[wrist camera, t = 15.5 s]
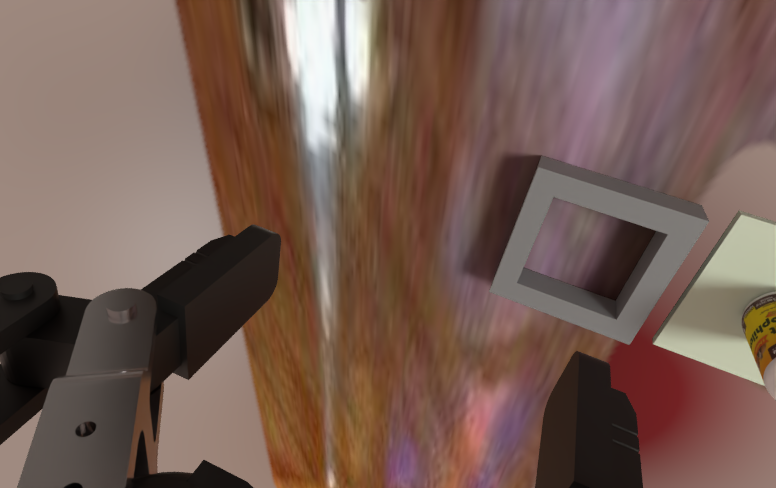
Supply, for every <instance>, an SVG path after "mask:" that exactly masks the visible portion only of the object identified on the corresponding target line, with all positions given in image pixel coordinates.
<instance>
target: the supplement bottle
mask: <svg viewBox="0 0 776 488" xmlns="http://www.w3.org/2000/svg"><path fill="white" fill-rule="evenodd" d="M741 324H742V329H743V332H744V334H745V336H746V339H747V342H748V344H749V346H750V349H751V352H752V354H753V357H754V359H755V362H756V364H757V367H758V369H759V372H760V374H761V377H762V379H763V382H764V384H765V387H766V389H767V391H768V392H769V394H770V395H771V396H772V397H773V398H774V399H775V400H776V291H775V292H770V293H767V294H764V295H761V296H759V297H757V298H756V299H754V300H753V301H751V302H750V303H749V304H748V305H747V307H746V308H745V309H744V311H743V314H742V318H741Z"/></svg>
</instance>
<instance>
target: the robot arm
mask: <svg viewBox="0 0 776 488" xmlns="http://www.w3.org/2000/svg"><path fill="white" fill-rule="evenodd" d="M280 246H281V238H280V235H279V234H277V233H275V232H272V231H270V230H267V229H264V228H262V227H259V226H257V225H251V226H249V227H248V228H246V229H245V230H243V231H242V232H241V233H239V234H238V235H237V236H235V237H234V236H232V235H227V236H224V237H221V238H218V239H215V240H211V241H210V242H208V243H207V244H205V245H204V246H203V247H201V248H200V249H198V250H197V252H196V253H193V254H191V255H190V256H188V257H187V258H185V261H181V262H180V263H178V264H177V265H176V266H174V267H173V268H171V269H170V270H168V271H167V272H165V273H164V274H163V275H161V276H160V277H158V278H157V279H155V280H154V281H153V282H151V283H150V284H148V285H147V286H146V287H144V288H143V289H141V290H139V289H132V288H124V289H116V290H112V291H108V292H106V293H103V294H101V295H99V296H97V297H96V298H94V299H93V300H89V299H82V298H75V297H68V296H62V295H58V291H57V286H56V283H55V281H54V280H53V279H52V278H51V277H49V276H47V275H45V274H41V273H36V272H22V273H15V274H10V275H6V276H3V277H1V278H0V362H1V364H0V445H1V444H2V443H3V442H4V441H5V440H7V439H8V438H9V437H10V436H11V435H12V434H13V433H15V432H16V431H17V430H18V429H19V428H21V426H23V425H24V424H25V423H26V422H27V421H29V420H30V419H31V418H32V417H33V416H34V415H36V414H37V413H38V412H39V411H40V410H41V409H42V412H41V415H40V418H39V421H38V424H37V427H36V431H35V434H34V437H33V440H32V443H31V446H30V449H29V452H28V455H27V458H26V461H25V464H24V467H23V471H22V474H21V477H20V480H19V483H18V486H17V488H253V487H252V486H251V485H250V484H249V483H248V482H246V481H244V480H243V479H241V478H238V477H237V476H234V475H233V474H231V473H229V472H227V471H225V470H223V469H221V468H219V467H217V466H215V465H213V464H211V463H209V462H207V461H205V460H203V461H202V463H201V464H200V465H199V466H198V468H197V469H196V470H195V471H194V473H184V472H162V473H157V456H158V443H159V433H160V422H161V412H162V402H163V392H164V382H163V381H164V380H165V379H166V378H168V376H170V375H171V374H172V373H175V374H177V375H179V376H181V377H183V378H186V379H188V380H189V379H190V378H191V377H192V376H193V375H194V374H195V373H196V372H197V371H198V370H199V369H200V368H201V367H202V366H203V365H204V364H205V363H206V362H207V361H208V360H209V359H210V358H211V357H212V356H213V355H214V354H215V353H216V352H217V351H218V350H219V349H220V348H221V347H222V346H223V345H224V344H225V343H226V342H227V341H228V340H229V339H230V338H231V337H232V336H233V335H234V334H235V332H237V331H238V330H239V329H240V328H241V327H242V326H243V325H244V324H245V323H246V322H247V321H248V320H249V319H250V318H251V317H252V316H253V315H254V314H255V313H256V312H257V311H258V310H259V309H260V308H261V307H262V306H263V305H264V304H265V303H266V302H267V301H268V299H269V298H270V297H271V295H272V294H273V292H274V290H275V287H276V284H277V280H278V270H279V258H280ZM637 435H638V428H637V417H636V413H635V411H634V409H633V407H632V405H631V403H630V401H629V399H628V397H627V396H626V394H625V393H623V392H621V391H618V390H616V389H613V388H611V377H610V365H609V363H607V362H604V361H602V360H599V359H596V358H594V357H591V356H589V355H586V354H584V353H581V352H578V351H576V352H575V353H574V354H573V356H572V357H571V359H570V361H569V363H568V364H567V366H566V368H565V370H564V371H563V373H562V375H561V377H560V378H559V380H558V382H557V384H556V385H555V387H554V389H553V391H552V393H551V395H550V397H549V399H548V402H547V405H546V408H545V412H544V417H543V425H542V434H541V443H540V451H539V460H538V468H537V477H536V485H535V488H643V483H642V473H641V462H640V454H638V452H639V439H638V437H637Z"/></svg>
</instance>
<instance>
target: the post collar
mask: <svg viewBox="0 0 776 488" xmlns="http://www.w3.org/2000/svg"><path fill="white" fill-rule="evenodd" d="M553 197H555V198H558V199H561V200H564V201H567V202H570V203H573V204H576V205H579V206H582V207H585V208H589V209H592V210H595V211H598V212H601V213H604V214H607V215H610V216H613V217H616V218H619V219H622V220H625V221H628V222H631V223H634V224H637V225H640V226H643V227H646V228H650V229H653V230H656V232H655V234H654V236H653V237H652V239H651V241H650V243H649V244H648V246H647V248H646V249H645V251H644V253H643V255H642V256H641V258H640V260H639V261H638V263H637V265H636V267H635V268H634V270H633V272H632V273H631V275H630V277H629V279H628V280H627V282H626V284H625V285H624V287H623V289H622V291H621V292H620V294H619V296H618V297H617V299H616V301H614V300H612V299H609V298H606V297H603V296H600V295H598V294H595V293H592V292H589V291H587V290H584V289H581V288H578V287H576V286H573V285H570V284H567V283H565V282H562V281H559V280H556V279H554V278H551V277H548V276H545V275H542V274H540V273H537V272H534V271H531V270H529V269H526V268H523V267H524V265H525V263H526V260H527V258H528V256H529V253H530V251H531V249H532V246H533V244H534V242H535V239H536V237H537V235H538V232H539V230H540V228H541V225H542V223H543V221H544V218H545V216H546V214H547V211H548V209H549V207H550V204H551V202H552V200H553ZM708 222H709V220H708V218H707V216H706V213H705V211H704V209H703V207H702V205H699V204H695V203H692V202H689V201H686V200H683V199H679V198H676V197H673V196H670V195H667V194H663V193H660V192H657V191H654V190H651V189H647V188H644V187H641V186H638V185H635V184H631V183H628V182H625V181H622V180H619V179H615V178H612V177H609V176H606V175H603V174H599V173H596V172H593V171H590V170H587V169H583V168H580V167H577V166H574V165H571V164H567V163H564V162H561V161H558V160H554V159H551V158H548V157H545V156H541V158H540V161H539V163H538V166H537V169H536V171H535V174H534V176H533V179H532V181H531V184H530V186H529V189H528V192H527V194H526V197H525V199H524V202H523V204H522V207H521V209H520V212H519V215H518V217H517V220H516V222H515V225H514V227H513V230H512V232H511V235H510V238H509V240H508V243H507V245H506V248H505V250H504V253H503V255H502V258H501V261H500V263H499V266H498V268H497V271H496V273H495V276H494V279H493V282H492V285H491V288H490V291H489V292H491V293H493V294H496V295H499V296H501V297H504V298H507V299H509V300H512V301H515V302H517V303H520V304H523V305H525V306H528V307H531V308H533V309H536V310H538V311H541V312H544V313H546V314H549V315H552V316H554V317H557V318H560V319H562V320H565V321H568V322H570V323H573V324H576V325H578V326H581V327H583V328H586V329H589V330H591V331H594V332H597V333H599V334H602V335H605V336H607V337H610V338H613V339H615V340H618V341H621V342H623V343H626V344H630V343H631V342H632V340H633V339H634V337H635V335H636V334H637V332H638V331H639V329H640V327H641V326H642V324H643V323H644V321H645V320H646V318H647V317H648V315H649V314H650V312H651V311H652V309H653V307H654V306H655V304H656V303H657V301H658V299H659V298H660V296H661V295H662V293H663V292H664V290H665V289H666V287H667V286H668V284H669V283H670V281H671V280H672V278H673V277H674V275H675V273H676V272H677V270H678V269H679V267H680V266H681V264H682V263H683V261H684V259H685V258H686V256H687V255H688V253H689V252H690V250H691V249H692V247H693V246H694V244H695V242H696V241H697V239H698V238H699V236H700V235H701V233H702V231H703V230H704V229H705V227H706V225H707V224H708Z"/></svg>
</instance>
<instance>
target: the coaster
mask: <svg viewBox="0 0 776 488" xmlns="http://www.w3.org/2000/svg"><path fill="white" fill-rule="evenodd" d="M775 291H776V222H774V221H771V220H768V219H765V218H762V217H758V216H755V215H752V214H749V213H745V212H742V211H738V213H737V214H736V216H735V217H734V218H733V220H732V221H731V223H730V225H729V226H728V228H727V229H726V231H725V232H724V233H723V235H722V236H721V238H720V239H719V241H718V242H717V244H716V245H715V247H714V248H713V250H712V251H711V253H710V254H709V256H708V257H707V259H706V260H705V261H704V263H703V264H702V266H701V267H700V269H699V270H698V272H697V273H696V275H695V276H694V278H693V279H692V281H691V282H690V284H689V285H688V287H687V288H686V290H685V291H684V293H683V294H682V296H681V297H680V298H679V300H678V301H677V303H676V304H675V306H674V308H673V309H672V310H671V312H670V313H669V315H668V316H667V318H666V319H665V321H664V322H663V324H662V325H661V327H660V328H659V330H658V331H657V333H656V334H655V336H654V337H653V339H652V340H653V344H655V345H657V346H660V347H662V348H665V349H668V350H670V351H673V352H676V353H678V354H681V355H684V356H686V357H689V358H692V359H695V360H697V361H700V362H702V363H705V364H708V365H710V366H713V367H716V368H718V369H721V370H724V371H726V372H729V373H732V374H735V375H737V376H740V377H743V378H745V379H748V380H751V381H753V382H756V383H759V384H761V385H764V386H765V384H764V382H763V379H762V377H761V374H760V372H759V369H758V367H757V364H756V362H755V359H754V357H753V354H752V352H751V349H750V346H749V344H748V342H747V339H746V336H745V334H744V332H743V329H742V324H741V318H742V314H743V311H744V309H745V308H746V307H747V305H748V304H749V303H750V302H751V301H753V300H754V299H756V298H757V297H759V296H761V295H764V294H767V293H770V292H775Z"/></svg>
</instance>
